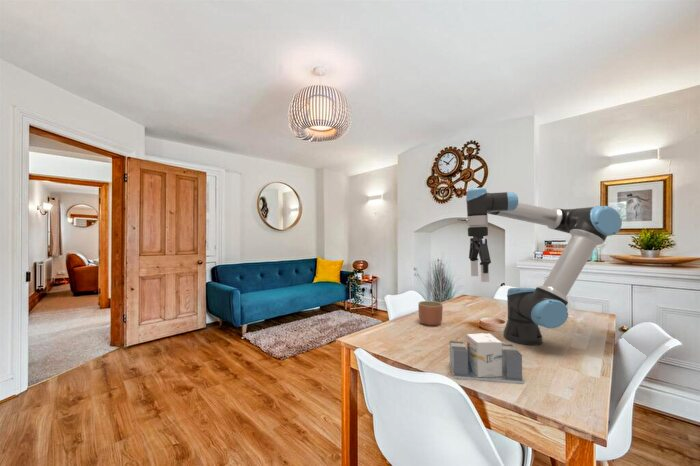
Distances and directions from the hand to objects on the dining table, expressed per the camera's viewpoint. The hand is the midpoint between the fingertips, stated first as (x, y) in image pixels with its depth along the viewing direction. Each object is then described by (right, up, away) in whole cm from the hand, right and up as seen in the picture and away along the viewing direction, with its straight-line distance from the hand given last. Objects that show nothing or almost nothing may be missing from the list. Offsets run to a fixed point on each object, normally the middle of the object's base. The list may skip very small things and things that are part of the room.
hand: (479, 278), depth 119 cm
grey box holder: (-7, -30, -18) cm, 35 cm away
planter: (-10, -30, +37) cm, 48 cm away
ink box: (-7, -29, -18) cm, 35 cm away
